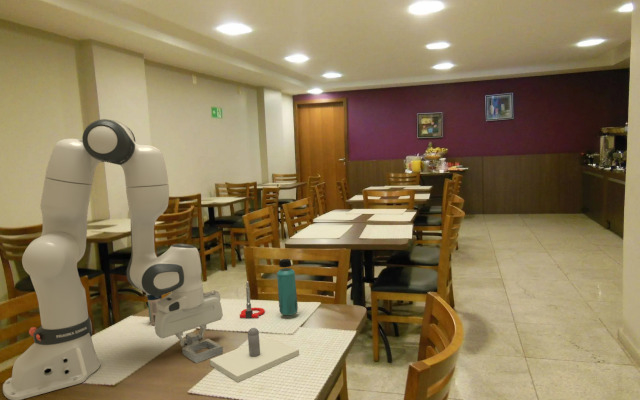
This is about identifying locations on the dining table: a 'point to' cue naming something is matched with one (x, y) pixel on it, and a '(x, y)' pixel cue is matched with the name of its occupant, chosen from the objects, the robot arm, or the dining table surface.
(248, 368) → the board
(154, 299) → the beer can
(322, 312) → the dining table surface
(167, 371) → the dining table surface
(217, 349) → the steel link
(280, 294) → the beverage bottle
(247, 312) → the tow hook
